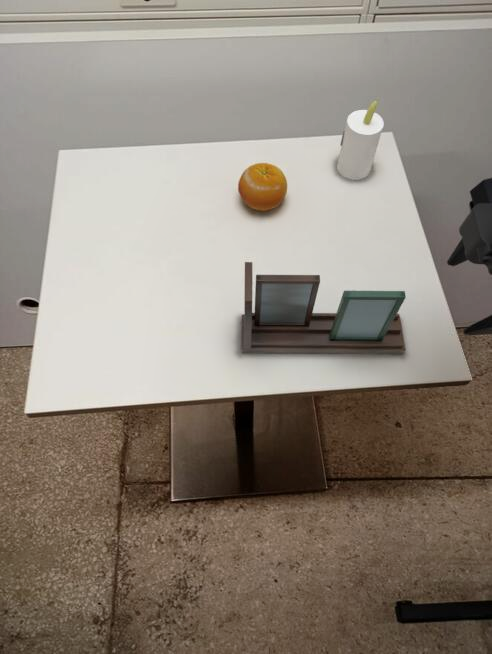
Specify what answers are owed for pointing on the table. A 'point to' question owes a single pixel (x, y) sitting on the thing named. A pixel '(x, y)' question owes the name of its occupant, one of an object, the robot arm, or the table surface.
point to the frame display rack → (299, 320)
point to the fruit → (262, 186)
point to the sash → (365, 315)
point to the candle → (359, 143)
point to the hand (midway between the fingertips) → (457, 297)
